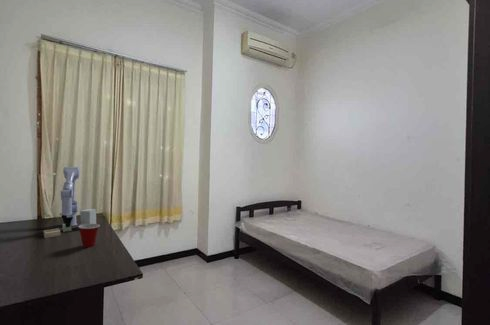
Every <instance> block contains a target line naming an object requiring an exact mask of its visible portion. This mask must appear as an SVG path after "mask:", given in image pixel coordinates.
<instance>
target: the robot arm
mask: <svg viewBox="0 0 490 325" xmlns="http://www.w3.org/2000/svg"><path fill="white" fill-rule="evenodd" d="M80 170H81V169H80V166H69V167H68V166H67V167H66V166H65V167H63V172H62V173H63V177H64V178H65V180H66V181H65V182H63V186H62V189H61V191H60V200H61V213H59V215H60V216H61V218H62V222H63V224H65V226H66V227H70V224H71V227H73V226H79V225H78V223H77V213H78V212H79V209H80V208H79V202H78V201H77V200H75V199H76V198H75V196H76V194H75V193H76V182H77V180H78V179H79V177H80V172H81V171H80Z"/></svg>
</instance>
